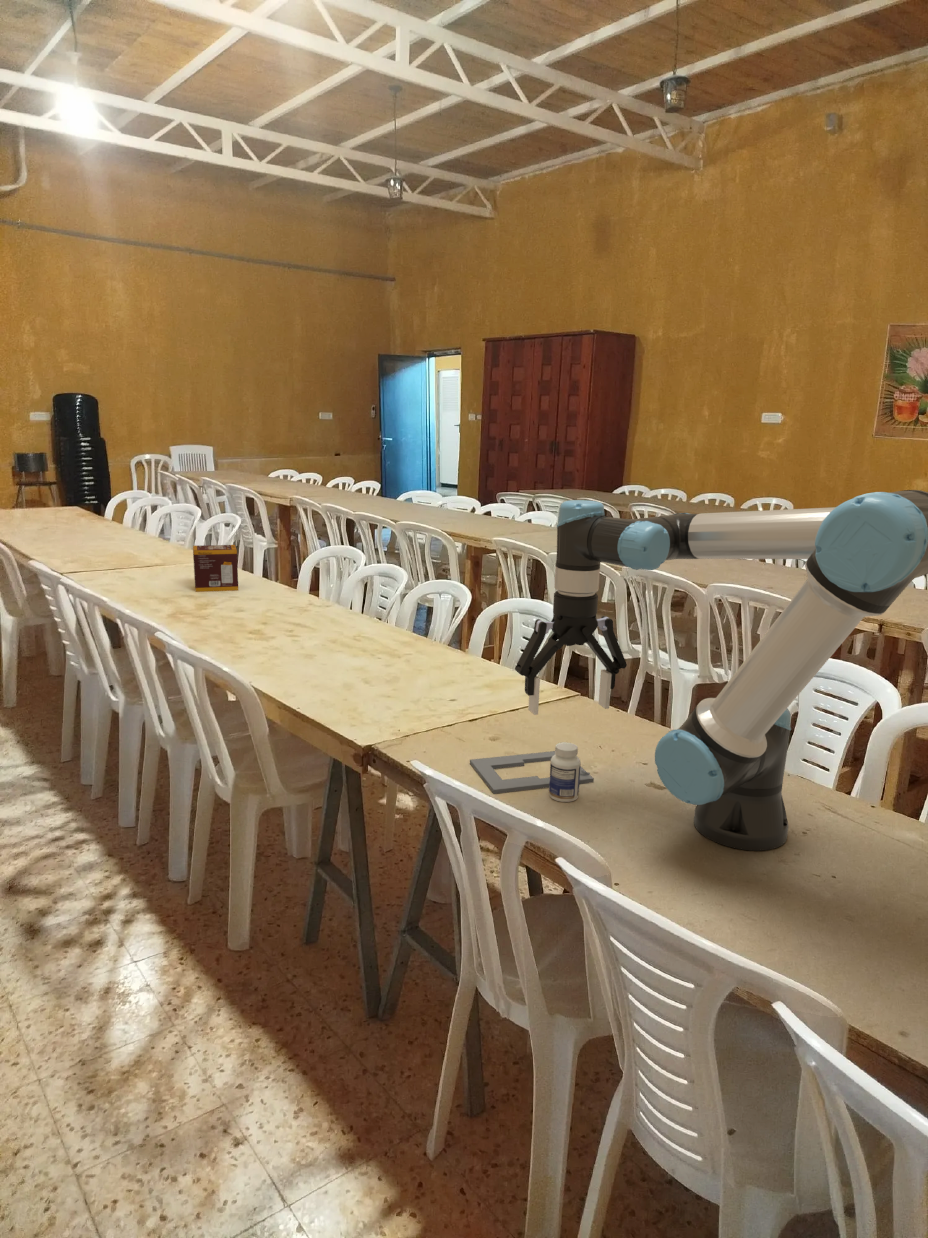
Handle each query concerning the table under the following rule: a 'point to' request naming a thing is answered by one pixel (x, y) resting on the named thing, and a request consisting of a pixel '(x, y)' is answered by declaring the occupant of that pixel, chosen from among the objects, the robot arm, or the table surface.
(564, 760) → the pill bottle
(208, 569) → the supplement box
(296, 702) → the table surface
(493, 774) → the keyhole board
